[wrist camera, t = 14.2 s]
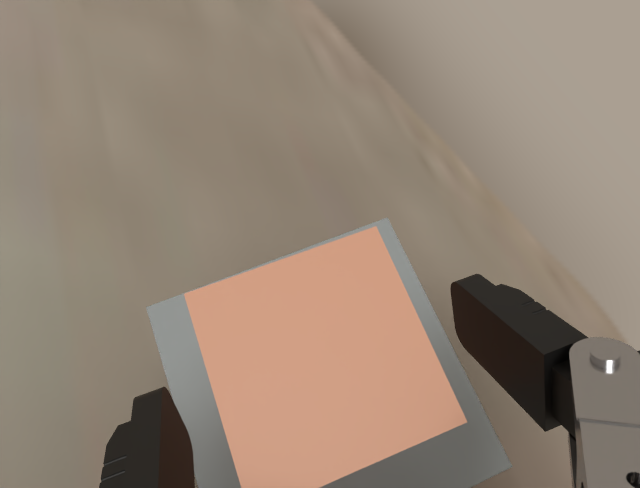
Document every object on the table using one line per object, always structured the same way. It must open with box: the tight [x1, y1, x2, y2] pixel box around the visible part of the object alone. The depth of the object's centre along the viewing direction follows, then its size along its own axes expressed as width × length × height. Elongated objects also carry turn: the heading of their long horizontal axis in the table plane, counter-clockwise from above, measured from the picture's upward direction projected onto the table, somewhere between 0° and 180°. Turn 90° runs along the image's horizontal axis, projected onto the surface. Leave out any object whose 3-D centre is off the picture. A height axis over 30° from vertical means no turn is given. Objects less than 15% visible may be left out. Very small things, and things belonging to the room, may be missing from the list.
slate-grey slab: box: [146, 218, 512, 488], centre depth 22 cm, size 12×12×4 cm
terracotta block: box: [184, 226, 467, 488], centre depth 15 cm, size 5×5×10 cm
